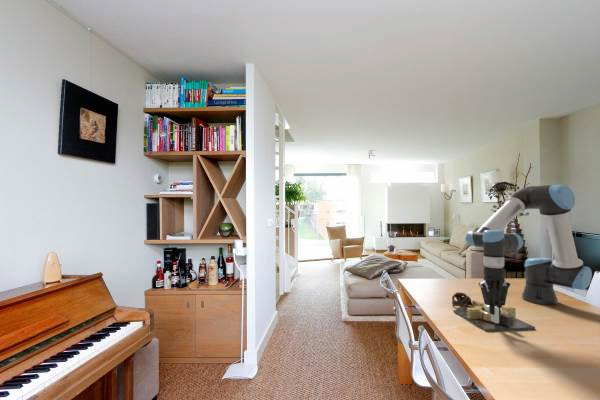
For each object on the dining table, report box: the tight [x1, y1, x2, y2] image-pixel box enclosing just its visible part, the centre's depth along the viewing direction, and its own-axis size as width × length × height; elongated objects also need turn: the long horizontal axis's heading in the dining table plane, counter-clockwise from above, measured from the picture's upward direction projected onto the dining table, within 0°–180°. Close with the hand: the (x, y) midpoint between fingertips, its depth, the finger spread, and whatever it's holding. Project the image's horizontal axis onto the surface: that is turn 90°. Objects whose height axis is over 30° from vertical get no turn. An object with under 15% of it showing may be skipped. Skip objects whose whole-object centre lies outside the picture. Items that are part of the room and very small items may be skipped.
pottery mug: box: [451, 291, 473, 308], centre depth 150 cm, size 12×10×8 cm
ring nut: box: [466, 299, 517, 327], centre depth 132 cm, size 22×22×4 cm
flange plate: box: [453, 303, 536, 332], centre depth 132 cm, size 22×22×6 cm
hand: (495, 321), depth 123 cm, fingers closed
